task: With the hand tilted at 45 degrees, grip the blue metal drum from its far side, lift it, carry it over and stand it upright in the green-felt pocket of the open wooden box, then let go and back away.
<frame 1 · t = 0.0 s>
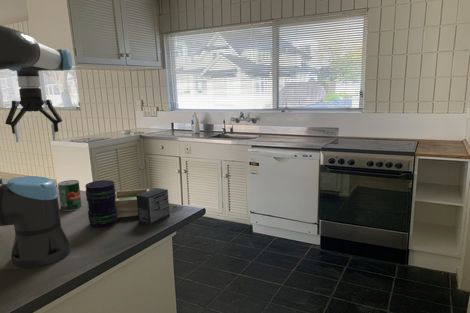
hand: (37, 141, 141), 28 cm above the counter, tool pointing down, fingers open, 13 cm apart
small box: (154, 219, 130), on the counter
canned tomato: (71, 208, 144), on the counter
blue metal drum: (104, 224, 126), on the counter
open wooden box: (132, 210, 139), on the counter
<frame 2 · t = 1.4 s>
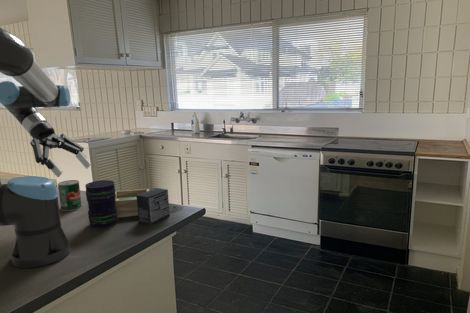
hand: (75, 170, 126), 19 cm above the counter, tool tilted 45°, fingers open, 13 cm apart
nothing on the counter moved.
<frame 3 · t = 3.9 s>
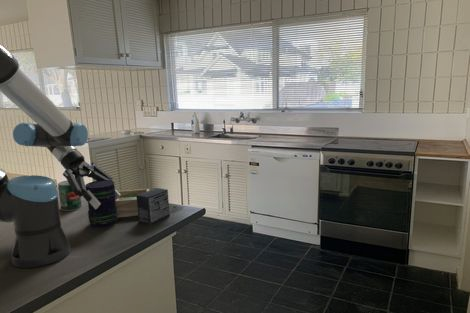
hand: (108, 201, 123), 8 cm above the counter, tool tilted 45°, fingers closed on blue metal drum, 10 cm apart
blue metal drum: (104, 223, 126), on the counter, touching gripper
everything else where it was.
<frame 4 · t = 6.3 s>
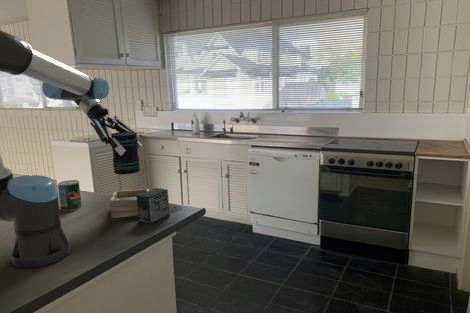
hand: (132, 150, 133), 25 cm above the counter, tool tilted 45°, fingers closed on blue metal drum, 10 cm apart
blue metal drum: (127, 171, 136), point 16 cm above the counter, touching gripper
everything else where it was.
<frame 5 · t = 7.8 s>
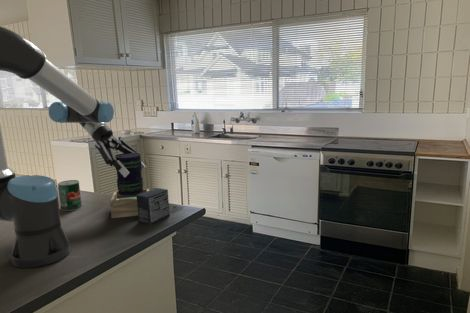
hand: (135, 171, 136), 16 cm above the counter, tool tilted 45°, fingers closed on blue metal drum, 10 cm apart
blue metal drum: (130, 192, 138), point 7 cm above the counter, touching gripper
everything else where it was.
when the fingers open (14 cm above the counter, at t = 8.8 s): blue metal drum drops 1 cm, resting on open wooden box.
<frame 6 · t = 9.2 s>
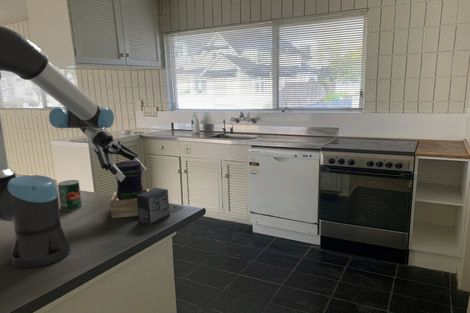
hand: (134, 175, 136), 15 cm above the counter, tool tilted 45°, fingers open, 13 cm apart
blue metal drum: (131, 200, 139), point 4 cm above the counter, touching open wooden box
everything else where it was.
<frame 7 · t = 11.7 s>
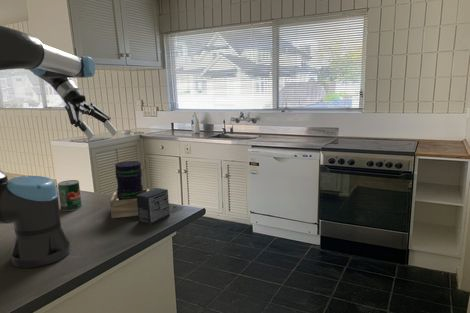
hand: (104, 135, 136), 30 cm above the counter, tool tilted 45°, fingers open, 13 cm apart
nothing on the counter moved.
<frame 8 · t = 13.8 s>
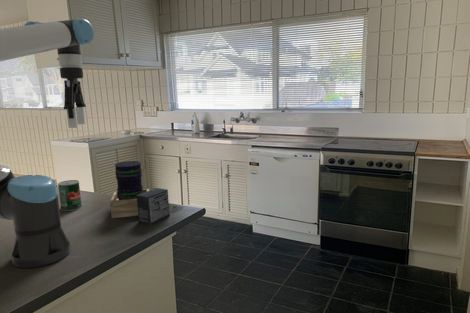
hand: (77, 126, 129), 35 cm above the counter, tool pointing down, fingers open, 13 cm apart
nothing on the counter moved.
at the end: blue metal drum inside the target area on the open wooden box (0.1 cm from its centre), point 4.0 cm above the open wooden box's base; blue metal drum tilted 0°; the gripper is holding nothing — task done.
